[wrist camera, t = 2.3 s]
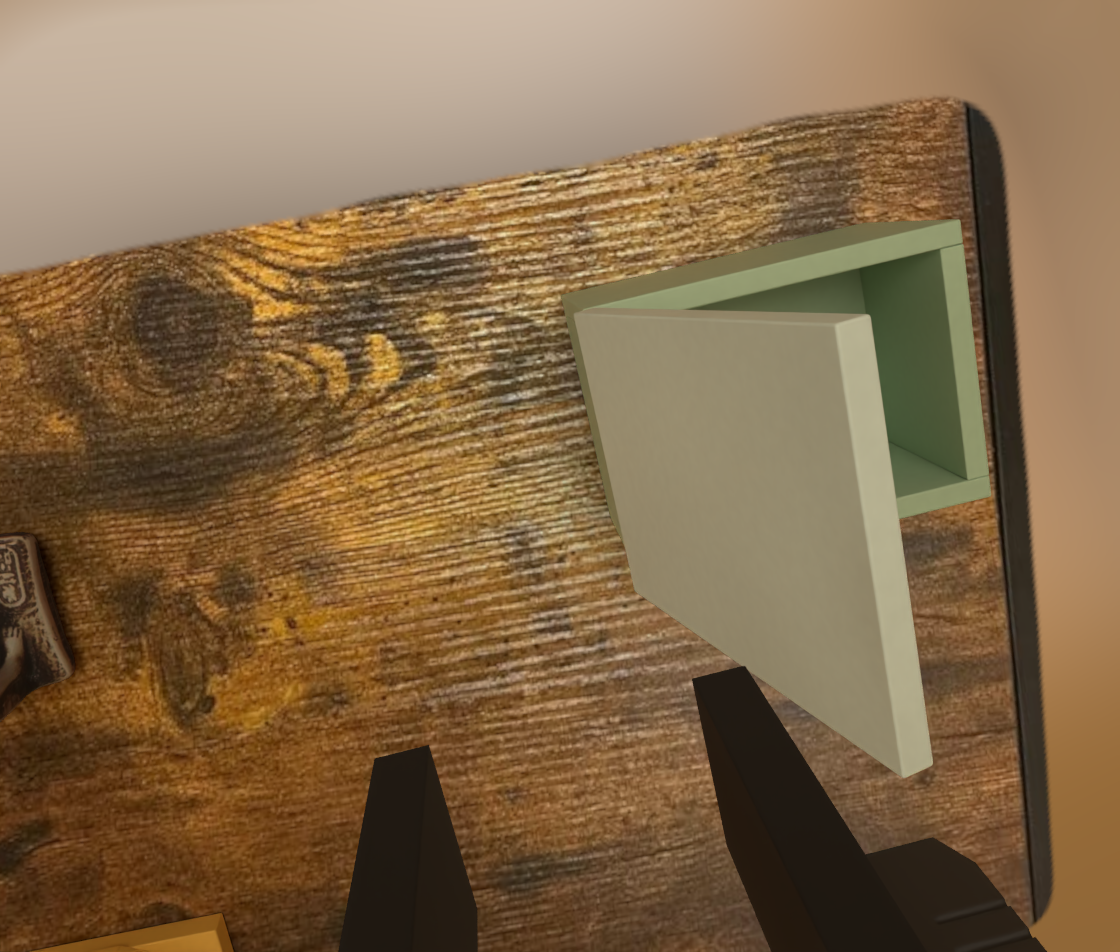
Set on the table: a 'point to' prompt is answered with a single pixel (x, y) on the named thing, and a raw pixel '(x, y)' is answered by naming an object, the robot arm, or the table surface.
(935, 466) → the hatch box
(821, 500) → the hatch lid
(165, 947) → the button block
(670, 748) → the table surface
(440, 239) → the table surface
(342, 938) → the robot arm
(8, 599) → the statue
